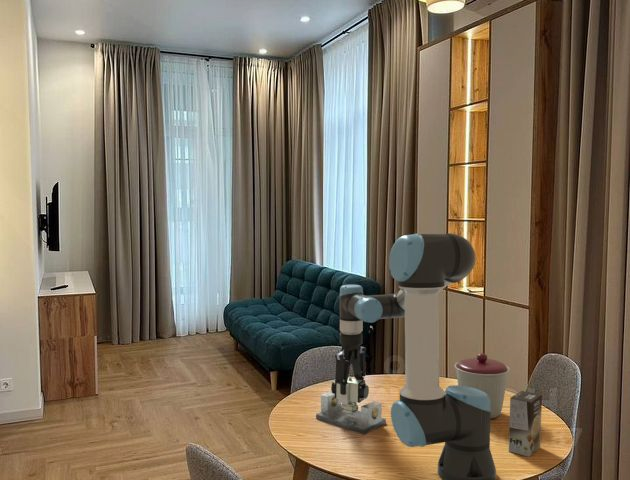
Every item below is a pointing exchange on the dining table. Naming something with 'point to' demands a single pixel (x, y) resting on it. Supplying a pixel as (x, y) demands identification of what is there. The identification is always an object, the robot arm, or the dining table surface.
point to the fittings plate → (356, 422)
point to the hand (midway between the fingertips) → (350, 401)
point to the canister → (484, 379)
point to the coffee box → (525, 423)
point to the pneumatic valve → (351, 394)
